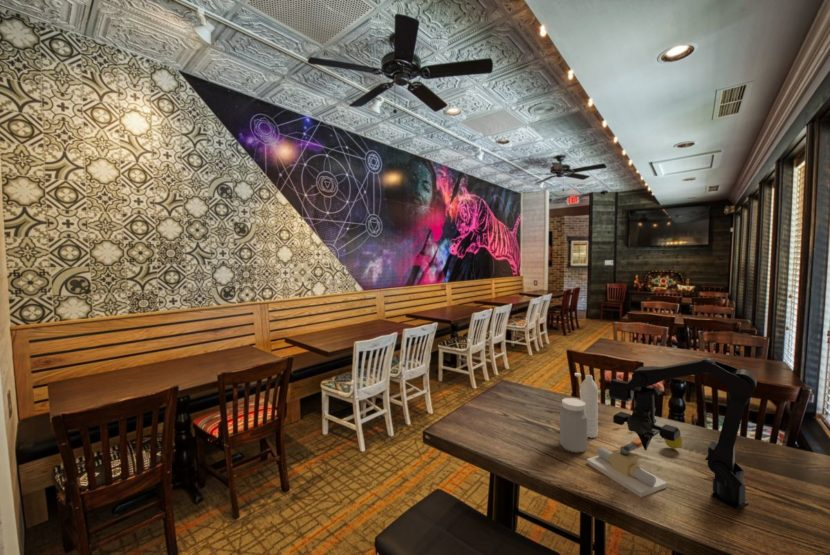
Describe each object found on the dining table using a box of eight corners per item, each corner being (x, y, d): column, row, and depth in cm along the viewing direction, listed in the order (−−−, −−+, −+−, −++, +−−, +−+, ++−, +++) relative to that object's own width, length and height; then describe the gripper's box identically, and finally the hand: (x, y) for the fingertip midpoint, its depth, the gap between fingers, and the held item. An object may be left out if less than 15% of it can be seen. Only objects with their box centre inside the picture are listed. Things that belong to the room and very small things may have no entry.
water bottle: (598, 432, 148) (598, 373, 147) (597, 439, 142) (597, 378, 141) (575, 428, 152) (575, 371, 151) (573, 434, 146) (573, 375, 145)
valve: (666, 487, 112) (667, 465, 111) (640, 497, 107) (640, 474, 107) (611, 455, 130) (611, 437, 130) (586, 462, 126) (586, 443, 126)
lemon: (685, 453, 131) (685, 432, 130) (668, 452, 132) (668, 431, 131) (677, 445, 136) (677, 425, 136) (661, 444, 137) (661, 424, 137)
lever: (626, 456, 117) (626, 450, 117) (618, 453, 119) (618, 447, 119) (646, 446, 123) (646, 440, 123) (638, 442, 125) (638, 437, 125)
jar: (555, 447, 137) (555, 402, 136) (565, 438, 144) (565, 394, 143) (582, 457, 130) (582, 409, 129) (591, 446, 137) (591, 401, 136)
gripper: (604, 403, 123) (606, 447, 124) (666, 420, 108) (668, 470, 109) (619, 395, 130) (621, 437, 130) (680, 410, 115) (681, 457, 115)
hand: (645, 449), depth 121 cm, fingers closed
